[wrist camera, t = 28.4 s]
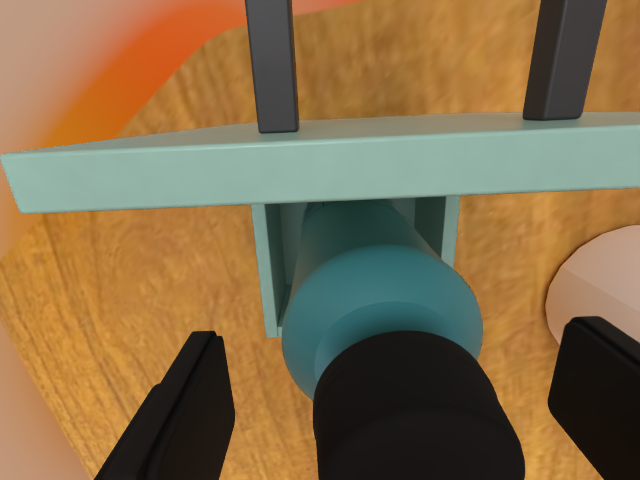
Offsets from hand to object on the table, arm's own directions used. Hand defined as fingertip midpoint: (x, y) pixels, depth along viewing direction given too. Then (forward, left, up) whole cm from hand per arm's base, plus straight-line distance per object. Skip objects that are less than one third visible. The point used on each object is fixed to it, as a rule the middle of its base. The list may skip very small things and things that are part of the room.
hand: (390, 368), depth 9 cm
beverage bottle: (0, 0, -17) cm, 17 cm away
